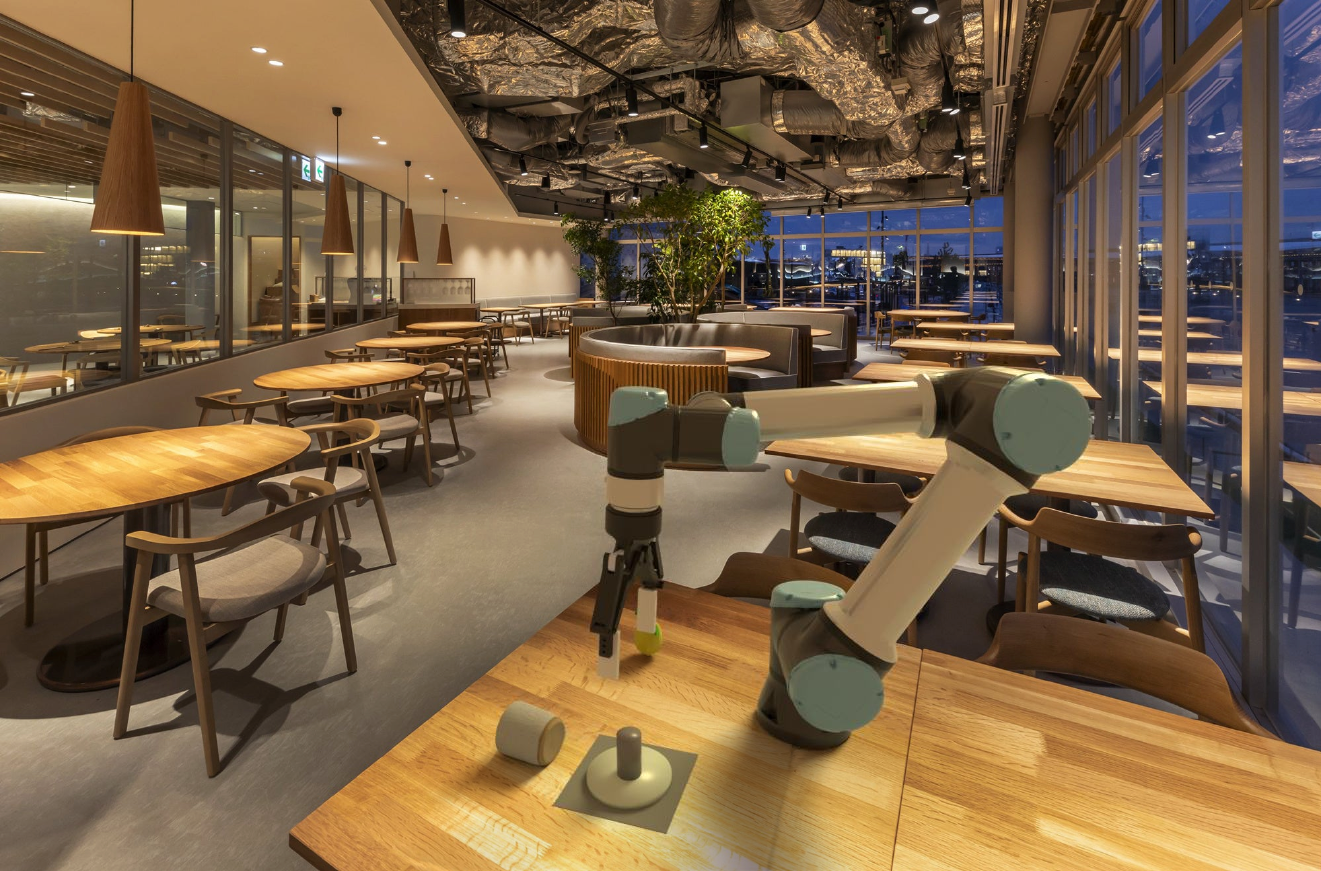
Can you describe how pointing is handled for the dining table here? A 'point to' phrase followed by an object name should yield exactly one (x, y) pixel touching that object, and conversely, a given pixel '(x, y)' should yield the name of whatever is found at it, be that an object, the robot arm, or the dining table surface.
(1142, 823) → the dining table surface
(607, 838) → the dining table surface
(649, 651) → the lemon
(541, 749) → the ceramic mug
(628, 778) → the lid
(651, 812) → the mat
